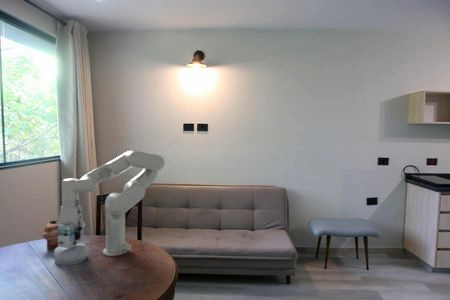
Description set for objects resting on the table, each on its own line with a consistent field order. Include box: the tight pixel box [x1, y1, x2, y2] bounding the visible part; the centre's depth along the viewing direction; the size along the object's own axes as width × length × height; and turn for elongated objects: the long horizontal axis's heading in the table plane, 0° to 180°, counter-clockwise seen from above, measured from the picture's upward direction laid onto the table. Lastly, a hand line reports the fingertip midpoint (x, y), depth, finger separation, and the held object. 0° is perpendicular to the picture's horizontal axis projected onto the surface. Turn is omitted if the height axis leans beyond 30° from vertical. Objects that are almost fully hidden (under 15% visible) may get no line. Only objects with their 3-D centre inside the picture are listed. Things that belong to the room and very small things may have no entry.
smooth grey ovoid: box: [53, 242, 87, 267], centre depth 145 cm, size 14×14×6 cm
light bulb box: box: [58, 220, 85, 248], centre depth 144 cm, size 11×7×11 cm, turn 169°
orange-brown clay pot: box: [42, 219, 59, 250], centre depth 162 cm, size 20×12×14 cm, turn 170°
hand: (70, 238), depth 144 cm, fingers closed on light bulb box, 6 cm apart
